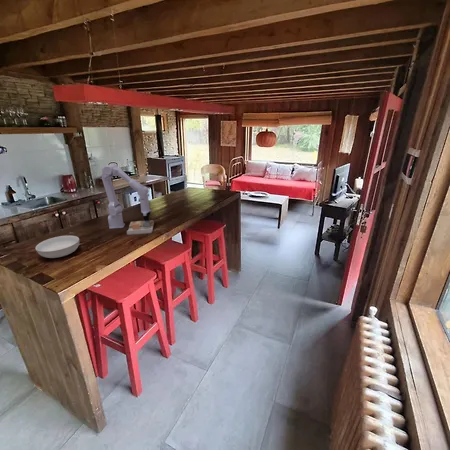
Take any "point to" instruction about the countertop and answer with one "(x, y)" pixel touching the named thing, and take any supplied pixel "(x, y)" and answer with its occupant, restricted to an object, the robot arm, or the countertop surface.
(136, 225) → the terracotta block
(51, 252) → the serving bowl
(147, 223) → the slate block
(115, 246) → the countertop surface
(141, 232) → the grey tray
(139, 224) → the birch board
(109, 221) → the robot arm
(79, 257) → the countertop surface
